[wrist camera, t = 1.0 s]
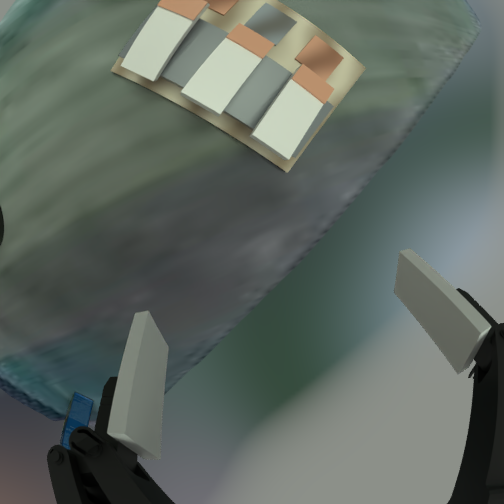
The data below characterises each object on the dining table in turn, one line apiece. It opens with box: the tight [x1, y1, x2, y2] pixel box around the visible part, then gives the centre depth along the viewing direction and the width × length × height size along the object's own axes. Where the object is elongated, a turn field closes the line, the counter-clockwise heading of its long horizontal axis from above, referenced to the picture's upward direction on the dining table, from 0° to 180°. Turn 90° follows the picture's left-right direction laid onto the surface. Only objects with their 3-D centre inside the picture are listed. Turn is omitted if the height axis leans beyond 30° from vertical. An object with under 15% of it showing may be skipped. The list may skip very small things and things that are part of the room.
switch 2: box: [249, 64, 334, 160], centre depth 25 cm, size 4×10×2 cm, turn 145°
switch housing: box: [118, 4, 334, 158], centre depth 26 cm, size 24×8×5 cm, turn 55°
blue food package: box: [59, 392, 94, 450], centre depth 47 cm, size 6×12×25 cm, turn 140°
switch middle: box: [181, 23, 275, 117], centre depth 22 cm, size 4×10×2 cm, turn 145°
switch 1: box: [121, 0, 210, 81], centre depth 19 cm, size 4×10×2 cm, turn 145°
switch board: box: [111, 0, 366, 173], centre depth 27 cm, size 28×20×2 cm
